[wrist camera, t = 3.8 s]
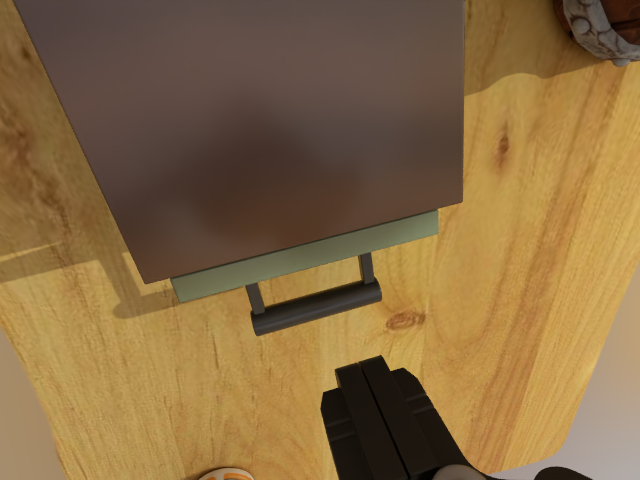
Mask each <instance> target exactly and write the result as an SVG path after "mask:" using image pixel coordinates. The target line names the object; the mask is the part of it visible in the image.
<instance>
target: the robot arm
mask: <svg viewBox="0 0 640 480" xmlns="http://www.w3.org/2000/svg"><path fill="white" fill-rule="evenodd" d="M335 376H336V380H337V385H338V388H336V389H332V390H329V391H326V392H323V397H322V402H321V408H320V409H321V413H322V417H323V421H324V425H325V429H326V434H327V438H328V442H329V445H330V449H331V453H332V456H333V460H334V464H335V467H336V471H337V475H338V478H339V480H505V479H497V478H493V477H490V476H488V475H485V474H483V473H482V472H480V471H478V470H477V469H475V468H474V467H473V466H472V465H471V464H470V463H469V462H468V461H467V460H466V458H465V457H464V456H463V454H462V452H461V451H460V449H459V447H458V446H457V444H456V442H455V441H454V439H453V437H452V436H451V434H450V432H449V431H448V429H447V427H446V426H445V424H444V422H443V421H442V419H441V417H440V415H439V414H438V412H437V410H436V409H435V408H434V406H433V404H432V402H431V400H430V399H429V397H428V396H427V395H426V392H425V390H424V389H423V387H422V385H421V384H420V382H419V380H418V379H417V378H416V377H415V376H414V375H412V374H411V373H410V372H408V371H407V370H406V369H405V368H400V369H397V370H393V371H390V369H389V367H388V366H387V364H386V362H385V360H384V358H383V357H382V356H381V355H380V356H376V357H373V358H370V359H366V360H363V361H360V362H358V363H354V364H350V365H347V366H344V367H340V368H337V369H335ZM534 480H592V479H590V478H588V477H586V476H584V475H582V474H580V473H578V472H576V471H573V470H571V469H568V468H564V467H548V468H545V469H543V470H541V471H540V472H539V473H538V474H537V475H536V477H535V479H534Z"/></svg>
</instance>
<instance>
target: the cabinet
mask: <svg viewBox="0 0 640 480" xmlns="http://www.w3.org/2000/svg"><path fill="white" fill-rule="evenodd" d="M13 2H14V4H15V7H16V9H17V11H18V13H19V15H20V17H21V19H22V22H23V24H24V26H25V28H26V30H27V32H28V35H29V37H30V39H31V41H32V43H33V45H34V47H35V50H36V52H37V54H38V56H39V58H40V60H41V62H42V65H43V67H44V69H45V71H46V73H47V75H48V77H49V80H50V82H51V84H52V86H53V88H54V90H55V93H56V95H57V97H58V99H59V101H60V103H61V105H62V108H63V110H64V112H65V114H66V116H67V118H68V120H69V123H70V125H71V127H72V129H73V131H74V133H75V135H76V138H77V140H78V142H79V144H80V146H81V148H82V151H83V153H84V155H85V157H86V159H87V161H88V163H89V166H90V168H91V170H92V172H93V174H94V176H95V178H96V181H97V183H98V185H99V187H100V189H101V191H102V193H103V196H104V198H105V200H106V202H107V204H108V206H109V208H110V211H111V213H112V215H113V217H114V219H115V221H116V224H117V226H118V228H119V230H120V232H121V234H122V236H123V239H124V241H125V243H126V245H127V247H128V249H129V251H130V254H131V256H132V258H133V260H134V262H135V264H136V266H137V269H138V271H139V273H140V275H141V277H142V279H143V282H144V283H145V284H149V283H153V282H157V281H161V280H165V279H168V278H172V277H176V276H180V275H184V274H188V273H192V272H195V271H199V270H203V269H207V268H211V267H215V266H219V265H222V264H226V263H230V262H234V261H238V260H242V259H246V258H250V257H253V256H257V255H261V254H265V253H269V252H273V251H277V250H280V249H284V248H288V247H292V246H296V245H300V244H304V243H307V242H311V241H315V240H319V239H323V238H327V237H331V236H334V235H338V234H342V233H346V232H350V231H354V230H358V229H361V228H365V227H369V226H373V225H377V224H381V223H385V222H388V221H392V220H396V219H400V218H404V217H408V216H412V215H415V214H419V213H423V212H427V211H431V210H435V209H439V208H442V207H446V206H450V205H454V204H458V203H462V202H463V136H464V39H465V0H13Z"/></svg>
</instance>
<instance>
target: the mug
mask: <svg viewBox="0 0 640 480" xmlns="http://www.w3.org/2000/svg"><path fill="white" fill-rule="evenodd" d="M554 6H555V11H556V13H557V16H558V18H559V20H560V22H561V24H562V26H563V28H564V31H568V30H572V31H573V32H572V34H571V35H570V39H572V40H573V41H574V42H575V43H577V44H578V45H579V46H580V47H582V48H583V49H584V50H586V51H589V52H591V53H592V54H593V55H594V56H596V57H597V58H598V59H605V60H612V62H613V64H614V65H615V66H617V67H623V66H625V65H627V64H628V63H629V62H633V61H640V0H554Z"/></svg>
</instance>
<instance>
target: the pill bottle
mask: <svg viewBox="0 0 640 480" xmlns="http://www.w3.org/2000/svg"><path fill="white" fill-rule="evenodd" d="M199 480H254V478H253V477H252V476H251V475H250V474H249V473H248V472H246V471H244V470H241V469H237V468H222V469H218V470H215V471H212V472H210V473H208V474H206V475H204V476H203V477H201V478H200V479H199Z"/></svg>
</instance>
